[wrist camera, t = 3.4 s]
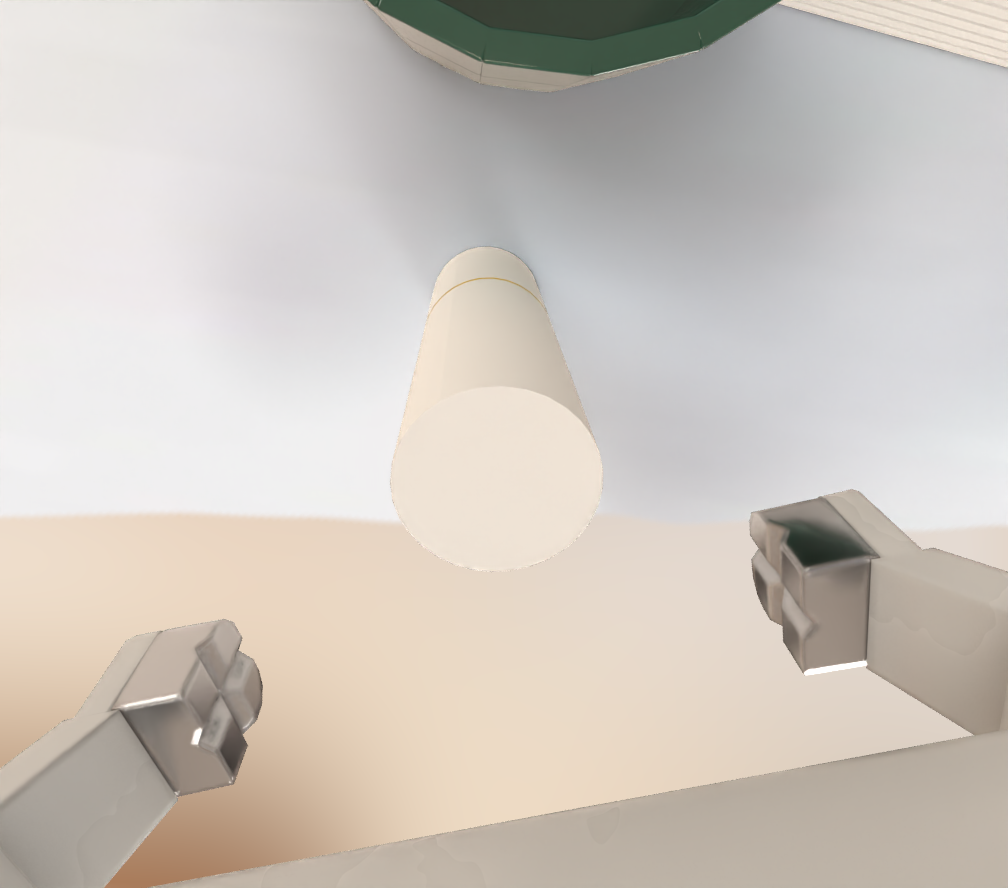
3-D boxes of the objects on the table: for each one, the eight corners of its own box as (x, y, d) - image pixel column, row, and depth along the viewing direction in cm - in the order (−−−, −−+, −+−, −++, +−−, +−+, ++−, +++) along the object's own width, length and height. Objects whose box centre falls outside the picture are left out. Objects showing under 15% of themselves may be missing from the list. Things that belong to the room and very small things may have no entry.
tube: (412, 282, 26) (346, 454, 13) (505, 225, 25) (539, 345, 12) (468, 369, 28) (463, 601, 15) (557, 318, 27) (638, 515, 14)
